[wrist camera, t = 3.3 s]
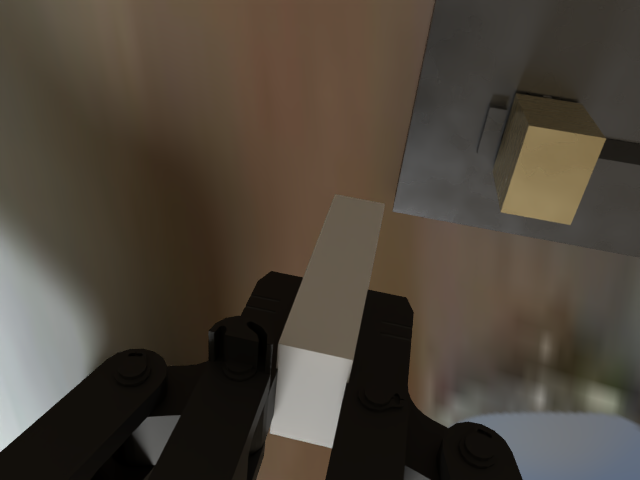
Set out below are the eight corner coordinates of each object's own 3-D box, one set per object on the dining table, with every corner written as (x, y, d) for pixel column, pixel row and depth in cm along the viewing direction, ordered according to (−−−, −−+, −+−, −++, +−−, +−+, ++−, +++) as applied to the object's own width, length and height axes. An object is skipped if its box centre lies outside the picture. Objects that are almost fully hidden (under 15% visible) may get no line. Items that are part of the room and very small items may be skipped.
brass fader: (492, 170, 28) (500, 212, 24) (516, 93, 26) (529, 125, 22) (552, 181, 28) (570, 224, 24) (581, 103, 25) (606, 138, 22)
